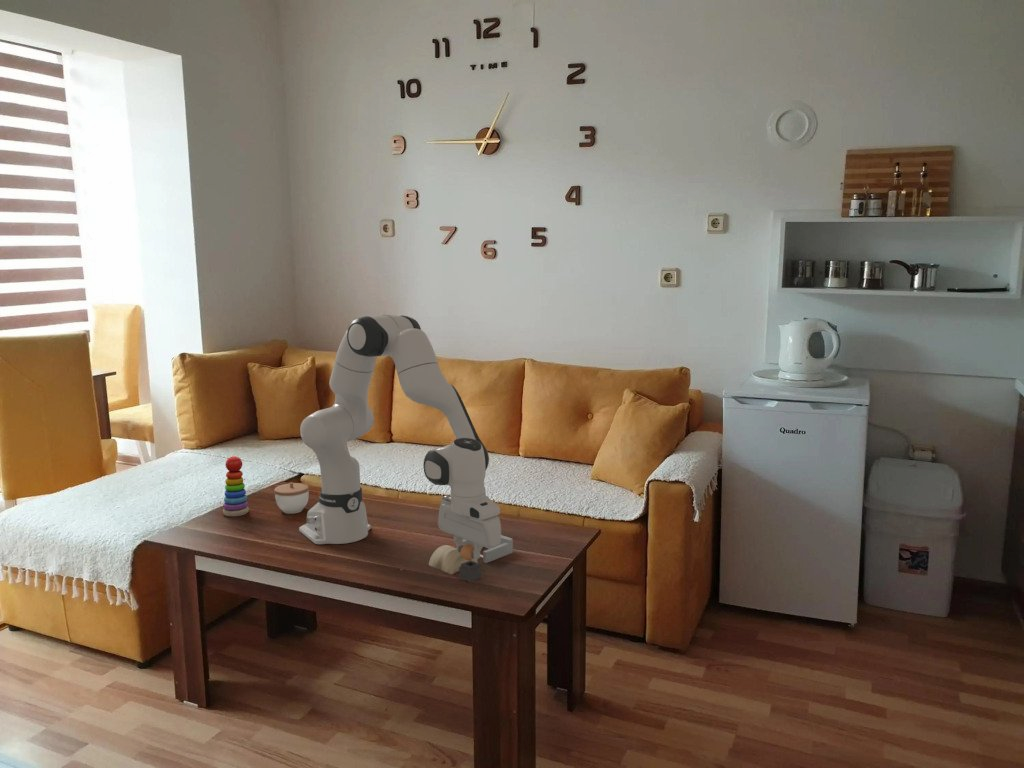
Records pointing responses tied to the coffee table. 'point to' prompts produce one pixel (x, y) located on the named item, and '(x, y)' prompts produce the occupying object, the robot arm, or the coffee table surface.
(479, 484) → the robot arm
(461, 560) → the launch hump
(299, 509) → the lidded jar
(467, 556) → the ball
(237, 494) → the stacking toy
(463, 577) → the cube with raised frame
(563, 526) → the coffee table surface
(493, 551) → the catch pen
